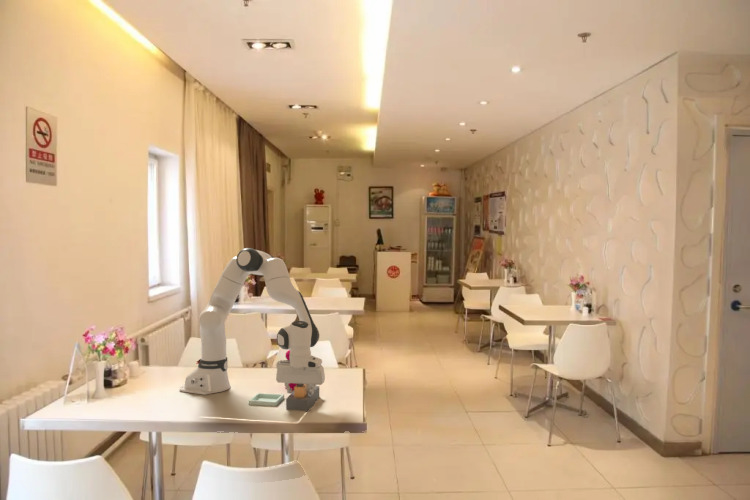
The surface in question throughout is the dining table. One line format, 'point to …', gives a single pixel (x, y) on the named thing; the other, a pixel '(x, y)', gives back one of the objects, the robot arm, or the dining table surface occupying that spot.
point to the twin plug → (309, 386)
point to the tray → (266, 399)
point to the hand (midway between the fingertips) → (300, 393)
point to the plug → (300, 390)
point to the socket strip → (302, 401)
